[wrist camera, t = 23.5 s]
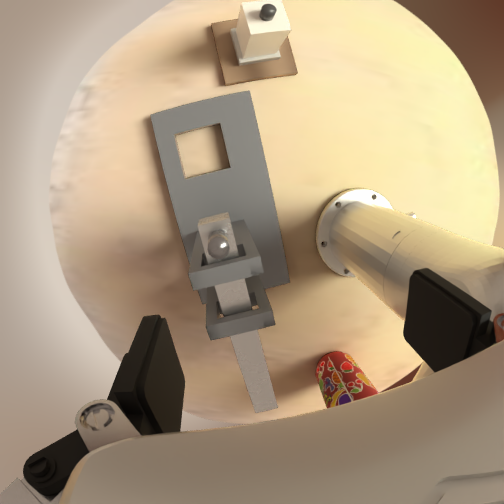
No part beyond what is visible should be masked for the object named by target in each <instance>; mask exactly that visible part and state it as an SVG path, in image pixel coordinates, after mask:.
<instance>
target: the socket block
mask: <svg viewBox="0 0 504 504" xmlns="http://www.w3.org/2000/svg"><path fill="white" fill-rule="evenodd" d="M151 120H152V124H153V129H154V133H155V138H156V142H157V146H158V150H159V155H160V159H161V163H162V167H163V171H164V175H165V179H166V182H167V186H168V190H169V194H170V198H171V201H172V205H173V209H174V212H175V216H176V220H177V223H178V227H179V230H180V234H181V237H182V241H183V244H184V247H185V251H186V254H187V257H188V261H189V264H190V267H189V272H188V275H189V278H190V281H191V285H192V288H193V291H194V290H198V293H199V296H200V299H201V302H202V304H206V329H207V332H208V335H209V337H210V340H215V339H220V338H224V337H229V336H233V335H237V334H241V333H245V332H250V331H254V330H258V329H262V328H266V327H269V326H273V325H275V320H274V316H273V311H272V308H271V306H270V303H269V300H268V298H267V295H266V292H265V290H264V289H267V288H271V287H275V286H279V285H283V284H286V283H290V279H289V274H288V269H287V263H286V258H285V253H284V248H283V243H282V237H281V232H280V227H279V222H278V217H277V212H276V208H275V203H274V198H273V193H272V188H271V184H270V179H269V174H268V169H267V165H266V160H265V156H264V151H263V147H262V142H261V138H260V133H259V129H258V124H257V120H256V116H255V111H254V107H253V103H252V99H251V94H250V91H244V92H239V93H234V94H229V95H224V96H219V97H215V98H211V99H206V100H202V101H198V102H194V103H190V104H186V105H182V106H179V107H175V108H172V109H168V110H165V111H161V112H158V113H155V114H151ZM218 124H220V126H221V130H222V134H223V138H224V143H225V147H226V151H227V156H228V160H229V164H230V168H226V169H221V170H217V171H213V172H209V173H205V174H201V175H198V176H194V177H190V178H186V177H185V173H184V169H183V165H182V161H181V157H180V153H179V149H178V144H177V140H176V136H175V135H178V134H182V133H186V132H190V131H193V130H197V129H201V128H205V127H209V126H214V125H218ZM226 212H228V213H229V217H230V221H231V226H232V230H233V234H234V238H235V242H236V246H237V250H238V254H239V257H238V258H234V259H230V260H226V261H222V262H218V263H214V264H210V265H208V262H207V258H206V255H205V251H204V247H203V244H202V240H201V237H200V233H199V229H198V222H199V219H202V218H206V217H210V216H214V215H218V214H222V213H226ZM244 278H245V282H246V286H247V290H248V294H249V298H250V302H251V306H255V305H258V308H259V309H255V310H251V311H247V312H243V313H239V314H235V315H231V316H226V317H222V318H220V314H223V312H222V309H221V306H220V302H219V299H218V296H217V292H216V289H215V285H219V284H223V283H227V282H232V281H236V280H240V279H244Z"/></svg>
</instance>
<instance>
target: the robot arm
mask: <svg viewBox="0 0 504 504" xmlns="http://www.w3.org/2000/svg"><path fill="white" fill-rule="evenodd" d="M371 196H372V198H371ZM336 202H337V205H336V206H335V203H336ZM323 241H324V242H323ZM322 242H323V244H321V243H322ZM316 243H317V248H318V251H319V254H320V256H321V258H322V260H323V261H324V262H325V263H326V265H327V266H328V267H329V268H330V269H331V270H333V271H334V272H336V273H338V274H339V275H342V276H346V277H357V278H358V279H359V280H360V281H361V282H362V283H363V284H364V285H365V286H367V287H368V288H369V289H370V290H371V291H372V292H373V293H374V294H375V295H376V296H377V297H378V298H379V299H380V300H382V301H383V302H384V303H385V304H386V305H387V306H388V307H389V308H390V309H391V310H392V311H393V312H394V313H395V314H397V315H398V316H399V317H400V318H401V319H402V320H404V321H405V324H404V331H403V334H404V338H405V340H406V341H407V342H408V343H409V344H410V346H411V347H412V348H413V349H414V350H415V351H416V352H417V353H418V354H419V356H420V357H421V358H422V359H423V360H424V361H423V363H422V365H421V367H420V369H419V370H418V372H417V374H416V375H415V377H414V379H413V381H412V382H410V383H407V384H405V385H402V386H399V387H396V388H394V389H391V390H388V391H385V392H382V393H379V394H376V395H373V396H369V397H366V398H363V399H360V400H356V401H353V402H349V403H346V404H342V405H338V406H335V407H331V408H327V409H323V410H319V411H315V412H310V413H306V414H301V415H297V416H292V417H287V418H282V419H277V420H271V421H265V422H259V423H253V424H246V425H239V426H231V427H223V428H214V429H204V430H196V431H185V432H180V428H181V418H182V407H183V398H184V389H185V378H184V374H183V371H182V368H181V365H180V362H179V359H178V356H177V353H176V350H175V347H174V344H173V340H172V337H171V334H170V330H169V327H168V324H167V321H166V319H165V318H161V317H160V315H152V316H144V317H143V319H142V321H141V323H140V326H139V328H138V330H137V333H136V335H135V338H134V340H133V342H132V345H131V347H130V350H129V352H128V353H126V354H125V356H124V357H123V360H122V362H121V365H120V368H119V370H118V372H117V375H116V378H115V380H114V383H113V386H112V388H111V391H110V393H109V396H108V398H107V400H103V399H102V400H95V401H92V402H89V403H88V404H86V405H84V406H83V407H82V408H81V409H80V410H79V411H78V413H77V415H76V418H75V424H76V427H77V430H76V431H74V432H72V433H70V434H69V435H67V436H65V437H63V438H62V439H60V440H58V441H56V442H55V443H53V444H51V445H49V446H47V447H46V448H44V449H42V450H40V451H38V452H36V453H35V454H33V455H32V456H30V457H29V459H28V460H27V461H26V463H25V465H24V468H23V474H24V478H23V479H22V480H20V479H18V478H16V479H15V480H14V481H13V482H12V483H11V484H10V485H9V486H8V487H7V488H6V489H5V490H4V491H3V492H2V493H1V494H0V504H504V248H500V247H495V246H491V245H487V244H484V243H480V242H476V241H473V240H471V239H468V238H465V237H463V236H460V235H457V234H455V233H452V232H450V231H447V230H445V229H442V228H440V227H437V226H435V225H432V224H430V223H427V222H425V221H422V220H420V219H417V218H416V216H415V214H414V213H413V212H411V213H407V214H404V213H401V212H398V211H396V210H393V207H392V206H391V204H390V203H389V201H388V200H387V199H386V198H385V197H384V196H382V195H381V194H379V193H378V192H375V191H372V190H369V189H365V188H354V189H350V190H347V191H344V192H342V193H340V194H339V195H337V196H336V197H334V198H333V199H332V200H331V201H330V202H329V203H328V204H327V206H326V207H325V209H324V210H323V212H322V214H321V216H320V218H319V221H318V225H317V229H316ZM344 269H345V270H344Z"/></svg>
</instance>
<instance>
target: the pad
mask: <svg viewBox="0 0 504 504" xmlns="http://www.w3.org/2000/svg"><path fill="white" fill-rule="evenodd" d="M237 22H238V19H234V20H228V21H222V22H216V23H211V27H212V31H213V35H214V39H215V43H216V47H217V52H218V56H219V60H220V64H221V68H222V73H223V77H224V81H225V85H226V86H228V85H233V84H238V83H244V82H249V81H255V80H262V79H268V78H275V77H283V76H291V75H296V74H297V73H298V72H297V68H296V64H295V61H294V57H293V53H292V50H291V46H290V42H289V39H288V36H287V37H286V39H285V40H284V42H283V43H282V45H281V47H280V48H279V52H280V55H281V57H280V59H279V60H271V61H265V62H258V63H252V64H246V65H241V66H239V63H238V59H237V56H236V52H235V48H234V45H233V41H232V37H231V34H230V30H231V29H233V28H236V27H237Z"/></svg>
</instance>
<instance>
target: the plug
mask: <svg viewBox="0 0 504 504" xmlns="http://www.w3.org/2000/svg"><path fill="white" fill-rule="evenodd" d="M290 31H291V27H290V24H289V21H288V18H287V15H286V12H285V9H284V6H283V3H282V0H261V1H252V2H244V3H241V7H240V12H239V17H238V22H237V27H236V28H233V29H231V30H230V34H231V37H232V41H233V45H234V48H235V52H236V56H237V59H238V63H239V66H241V65H246V64H252V63H258V62H265V61H271V60H279V59H280V57H281V55H280V52H279V48H280V47H281V45H282V43H283V42H284V40H285V39H286V37H287V36H288V34H289V33H290Z"/></svg>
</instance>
